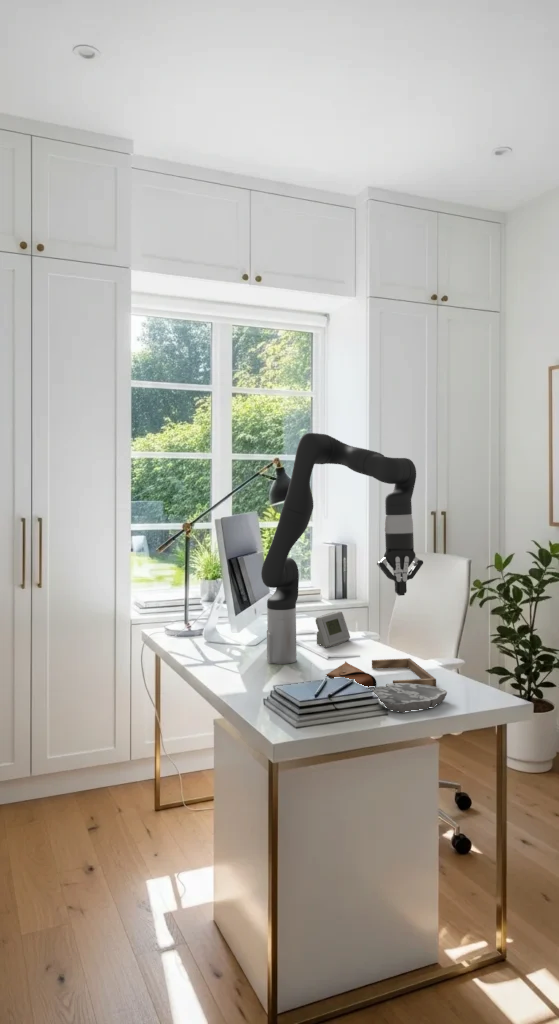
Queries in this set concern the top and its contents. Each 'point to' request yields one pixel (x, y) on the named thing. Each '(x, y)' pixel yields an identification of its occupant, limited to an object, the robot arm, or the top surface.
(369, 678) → the sunglasses case
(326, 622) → the digital clock
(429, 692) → the grey flat stone slab
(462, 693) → the top surface
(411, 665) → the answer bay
